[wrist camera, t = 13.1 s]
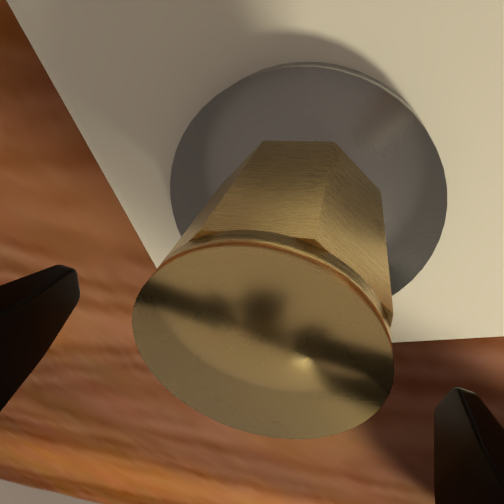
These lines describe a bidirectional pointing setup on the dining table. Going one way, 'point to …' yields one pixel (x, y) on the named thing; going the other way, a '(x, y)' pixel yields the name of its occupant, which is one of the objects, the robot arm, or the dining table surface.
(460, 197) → the board
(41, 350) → the robot arm
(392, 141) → the metal disc with knob
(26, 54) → the dining table surface
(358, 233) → the brown and gold cylinder
